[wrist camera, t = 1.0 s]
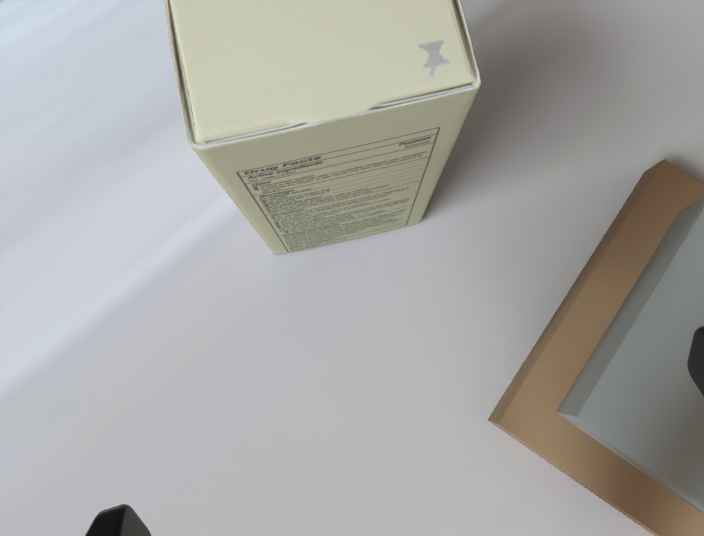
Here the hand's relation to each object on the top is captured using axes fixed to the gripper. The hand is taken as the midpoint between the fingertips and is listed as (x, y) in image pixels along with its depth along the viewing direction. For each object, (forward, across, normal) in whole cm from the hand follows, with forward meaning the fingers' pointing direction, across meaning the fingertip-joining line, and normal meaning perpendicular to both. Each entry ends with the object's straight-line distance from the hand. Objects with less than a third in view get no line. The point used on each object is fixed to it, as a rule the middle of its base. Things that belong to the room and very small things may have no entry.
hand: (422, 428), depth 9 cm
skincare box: (+16, -1, +5) cm, 16 cm away
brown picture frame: (+7, -12, +12) cm, 19 cm away
